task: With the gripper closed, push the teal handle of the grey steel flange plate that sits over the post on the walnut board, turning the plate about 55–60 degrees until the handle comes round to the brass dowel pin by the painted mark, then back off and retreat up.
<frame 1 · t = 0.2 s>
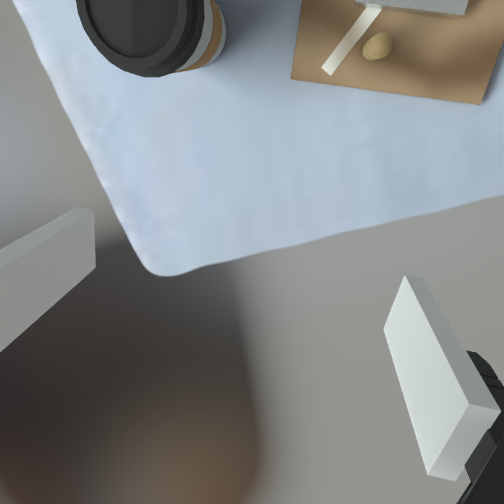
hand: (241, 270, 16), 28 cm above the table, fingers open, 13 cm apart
coffee cup: (196, 32, 37), on the table
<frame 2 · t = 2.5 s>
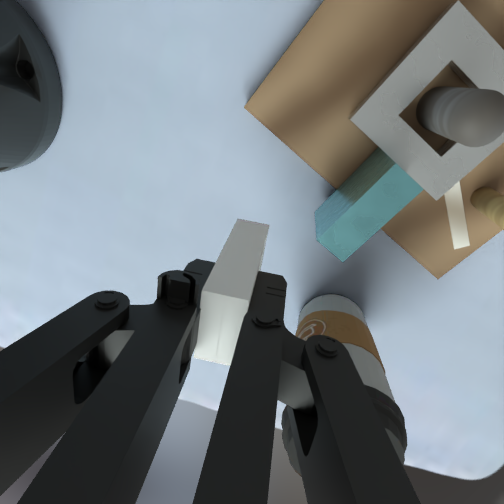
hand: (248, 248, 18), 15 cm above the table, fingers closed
post base: (432, 107, 28), on the table
flange: (410, 154, 25), point 5 cm above the table, hinge at 0.0°
coffee cup: (330, 317, 37), on the table
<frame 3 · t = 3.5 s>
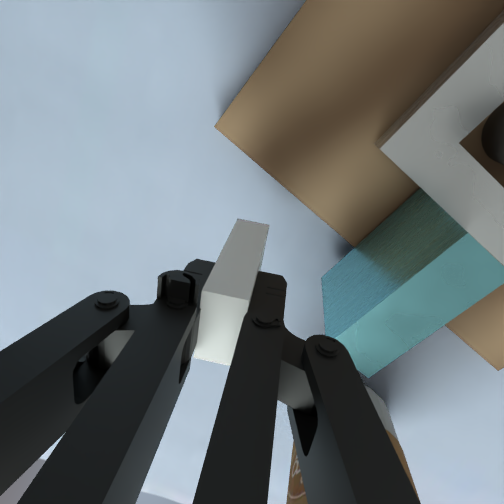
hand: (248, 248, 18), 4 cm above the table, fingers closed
flange: (480, 208, 15), point 4 cm above the table, hinge at 0.0°
coffee cup: (341, 407, 27), on the table
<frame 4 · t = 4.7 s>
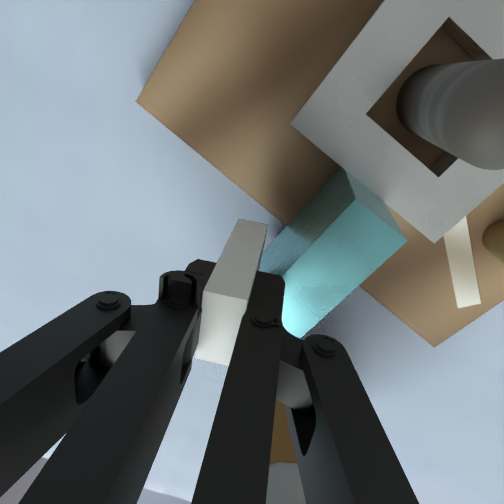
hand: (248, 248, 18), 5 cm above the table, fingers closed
post base: (423, 99, 18), on the table
flange: (387, 177, 16), point 5 cm above the table, hinge at 1.9°, touching gripper
coffee cup: (289, 387, 27), on the table
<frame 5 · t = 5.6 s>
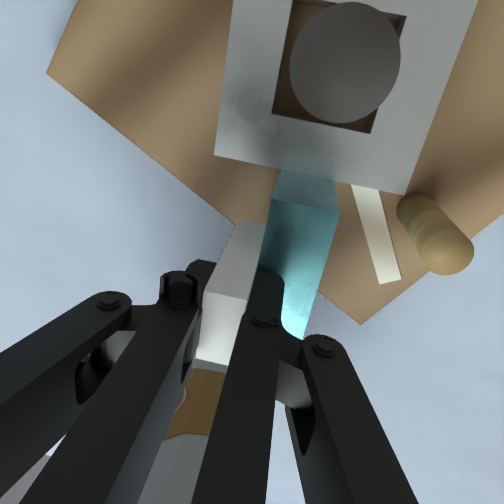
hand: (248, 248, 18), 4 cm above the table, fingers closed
post base: (330, 69, 18), on the table
flange: (312, 160, 15), point 4 cm above the table, hinge at 28.6°, touching gripper
coffee cup: (228, 368, 27), on the table
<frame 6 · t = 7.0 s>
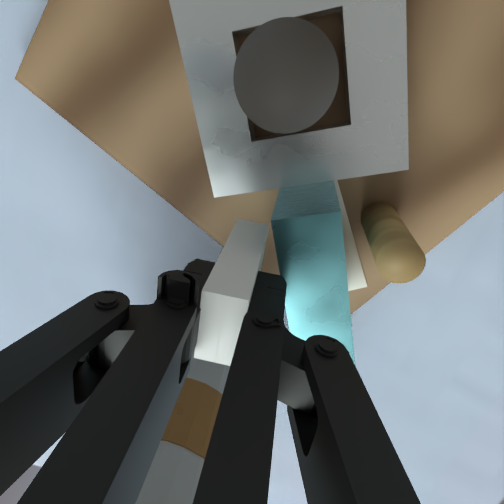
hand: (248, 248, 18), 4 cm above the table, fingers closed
post base: (295, 79, 18), on the table
flange: (303, 170, 16), point 4 cm above the table, hinge at 50.0°
coffee cup: (201, 374, 27), on the table
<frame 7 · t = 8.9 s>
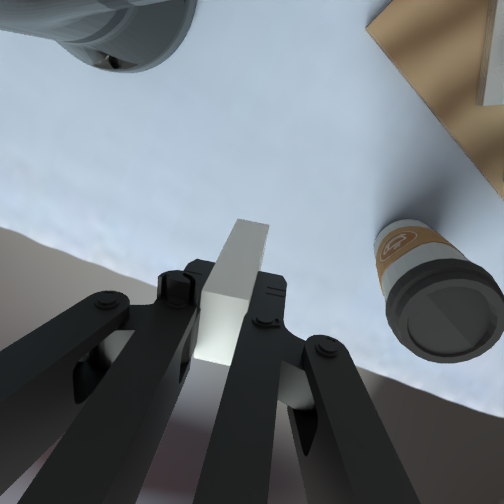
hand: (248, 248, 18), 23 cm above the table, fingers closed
coffee cup: (402, 244, 41), on the table
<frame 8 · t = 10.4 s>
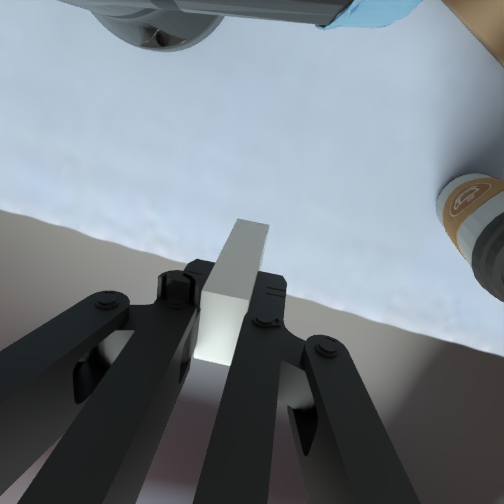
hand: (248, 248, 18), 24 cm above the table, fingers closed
coffee cup: (465, 201, 39), on the table
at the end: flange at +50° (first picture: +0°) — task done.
